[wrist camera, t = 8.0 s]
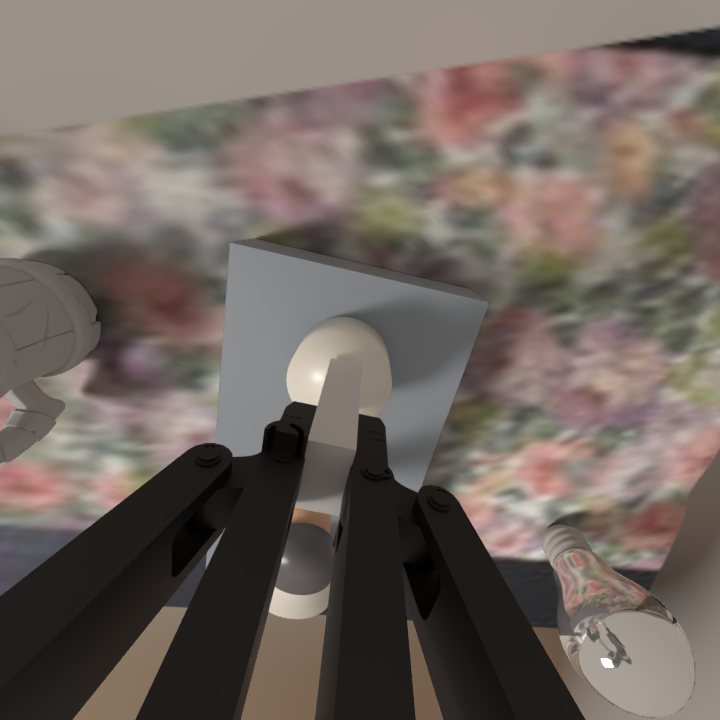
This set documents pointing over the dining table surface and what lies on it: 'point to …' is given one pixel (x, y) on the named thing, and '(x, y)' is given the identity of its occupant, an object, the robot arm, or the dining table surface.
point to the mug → (38, 345)
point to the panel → (328, 300)
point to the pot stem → (307, 554)
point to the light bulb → (617, 631)
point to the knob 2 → (346, 344)
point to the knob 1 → (298, 604)
